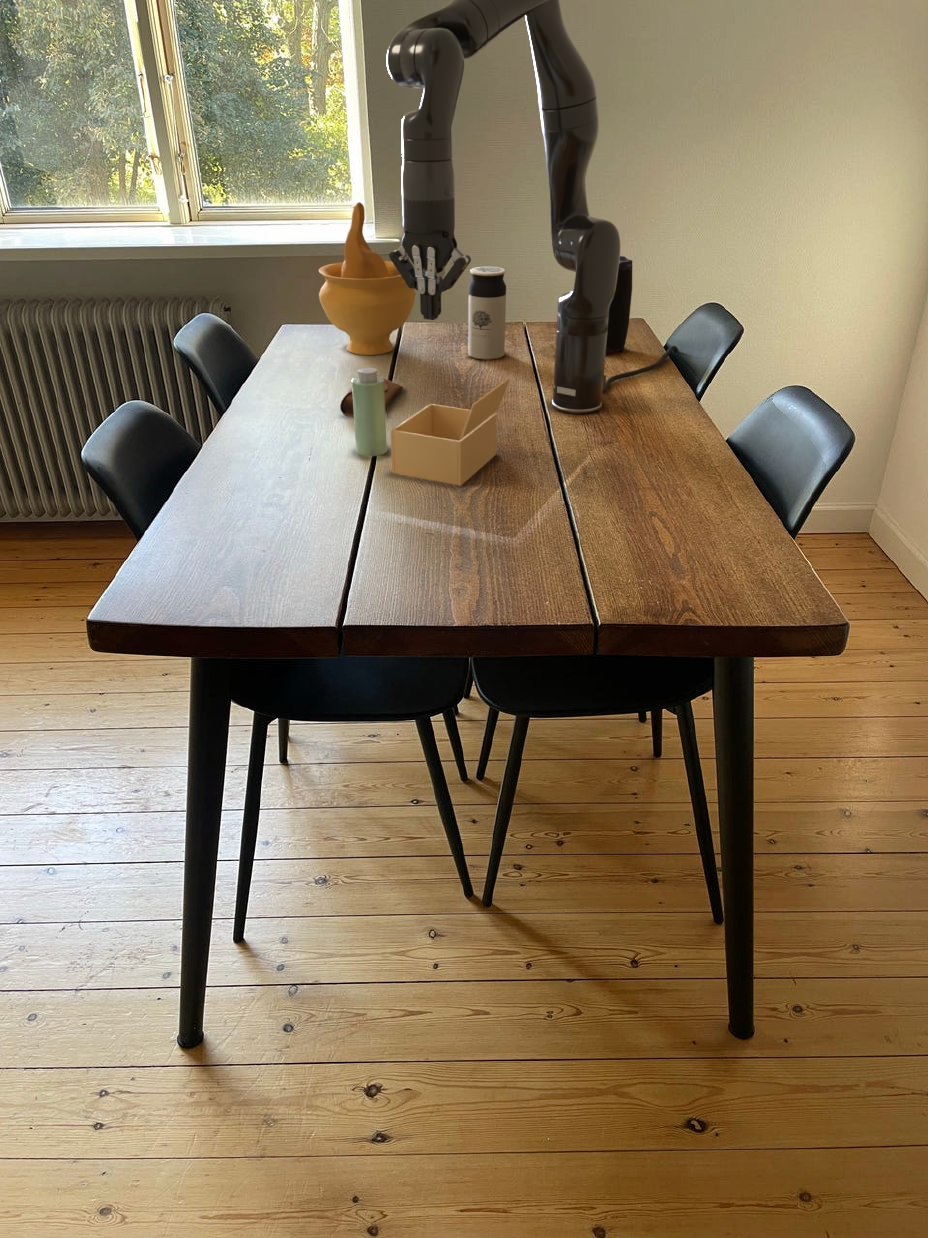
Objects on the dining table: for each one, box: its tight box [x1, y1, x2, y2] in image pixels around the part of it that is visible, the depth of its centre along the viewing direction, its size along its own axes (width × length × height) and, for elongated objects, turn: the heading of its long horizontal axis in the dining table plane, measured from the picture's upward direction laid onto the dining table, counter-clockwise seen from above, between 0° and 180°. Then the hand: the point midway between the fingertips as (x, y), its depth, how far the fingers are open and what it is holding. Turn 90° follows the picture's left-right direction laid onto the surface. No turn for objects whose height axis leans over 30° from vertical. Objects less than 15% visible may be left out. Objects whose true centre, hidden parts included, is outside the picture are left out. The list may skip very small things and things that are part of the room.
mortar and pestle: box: [318, 201, 417, 356], centre depth 200 cm, size 21×21×30 cm
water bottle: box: [351, 367, 388, 457], centre depth 151 cm, size 5×5×14 cm
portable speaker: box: [605, 255, 634, 356], centre depth 202 cm, size 9×9×20 cm
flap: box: [460, 377, 511, 438], centre depth 142 cm, size 14×6×1 cm
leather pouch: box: [339, 374, 404, 418], centre depth 176 cm, size 18×7×7 cm, turn 172°
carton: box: [390, 403, 498, 487], centre depth 148 cm, size 14×12×8 cm
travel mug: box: [467, 266, 507, 361], centre depth 199 cm, size 8×8×18 cm
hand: (430, 318), depth 140 cm, fingers closed
